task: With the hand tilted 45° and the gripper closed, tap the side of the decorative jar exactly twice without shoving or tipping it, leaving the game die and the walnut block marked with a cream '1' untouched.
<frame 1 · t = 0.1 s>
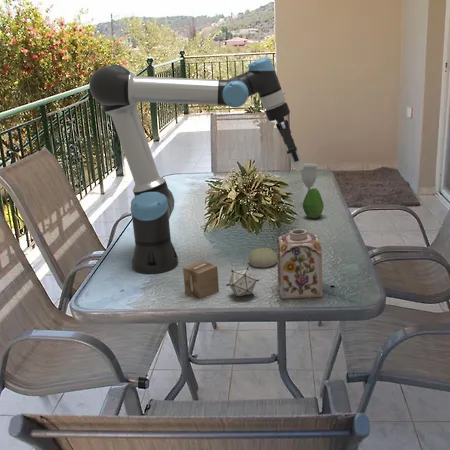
hand: (297, 165, 195), 28 cm above the table, tool tilted 20°, fingers open, 13 cm apart
chalice: (309, 207, 244), on the table
decorative jar: (299, 290, 168), on the table
sea urchin shell: (262, 264, 189), on the table
game die: (243, 296, 167), on the table
marked walnut block: (202, 292, 171), on the table
avocado: (313, 218, 231), on the table
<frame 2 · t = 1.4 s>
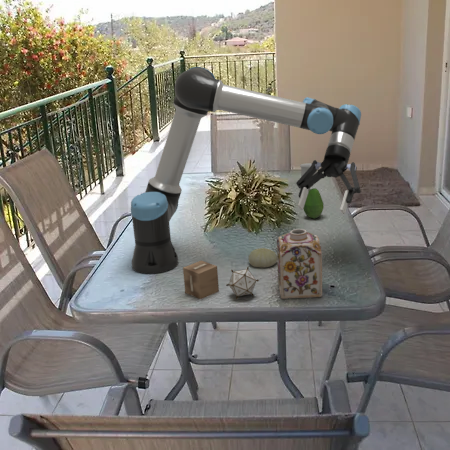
hand: (320, 209, 176), 19 cm above the table, tool tilted 45°, fingers open, 13 cm apart
nothing on the table moved.
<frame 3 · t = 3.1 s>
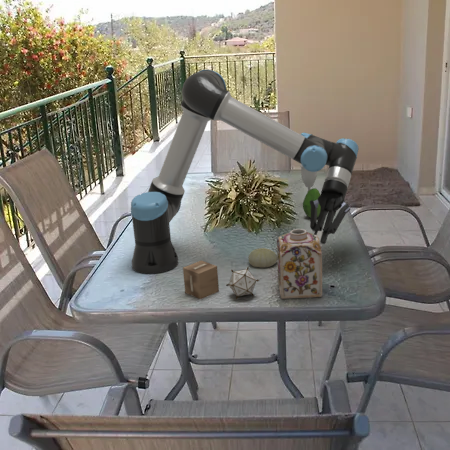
hand: (315, 252, 175), 8 cm above the table, tool tilted 45°, fingers closed
nothing on the table moved.
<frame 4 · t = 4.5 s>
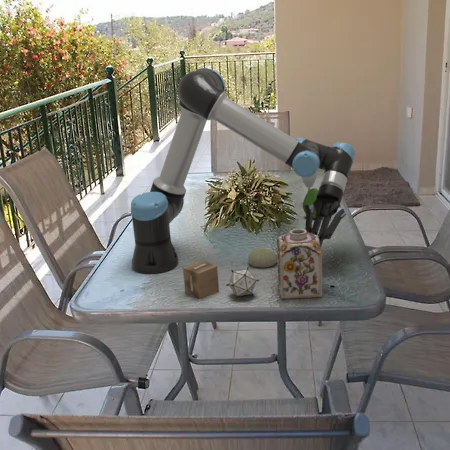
hand: (310, 257, 172), 7 cm above the table, tool tilted 45°, fingers closed
decorative jar: (299, 290, 168), on the table, touching gripper
everything else where it was.
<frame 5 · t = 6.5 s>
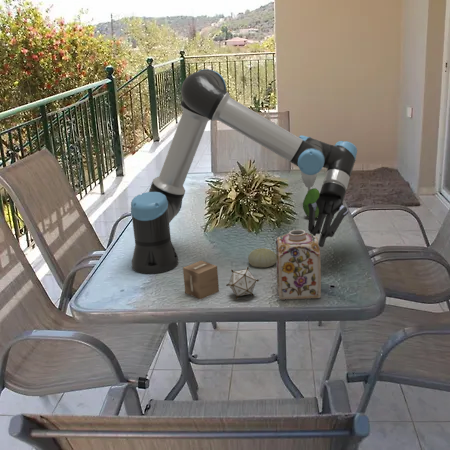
hand: (313, 255, 174), 7 cm above the table, tool tilted 45°, fingers closed
decorative jar: (298, 291, 168), on the table
everything else where it was.
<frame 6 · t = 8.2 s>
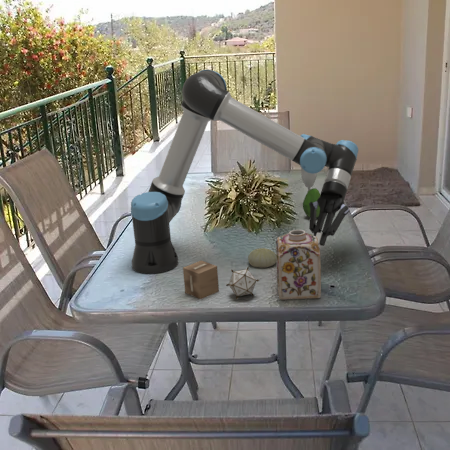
hand: (314, 254, 175), 7 cm above the table, tool tilted 45°, fingers closed
nothing on the table moved.
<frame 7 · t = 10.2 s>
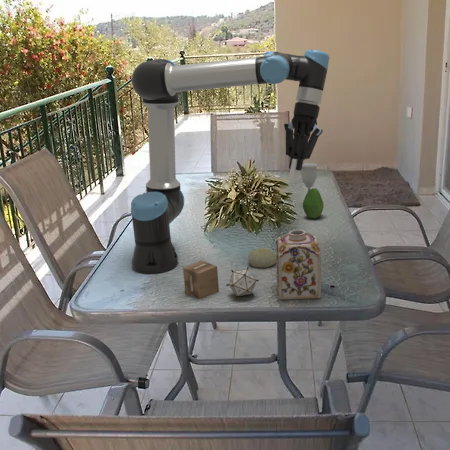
hand: (292, 180, 181), 27 cm above the table, tool tilted 15°, fingers closed
nothing on the table moved.
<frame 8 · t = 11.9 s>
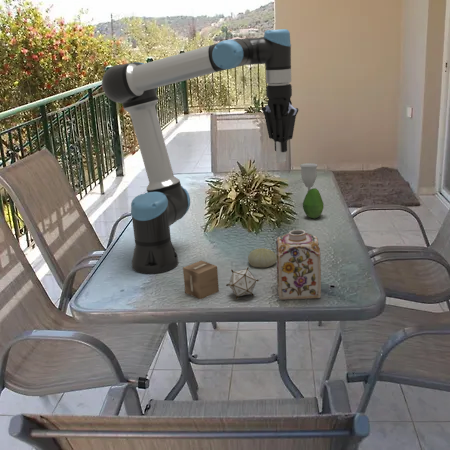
hand: (281, 161, 181), 32 cm above the table, tool pointing down, fingers closed
nothing on the table moved.
at the end: decorative jar moved 0.8 cm from its start; decorative jar tilted 0°; game die moved 0.2 cm from its start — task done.
